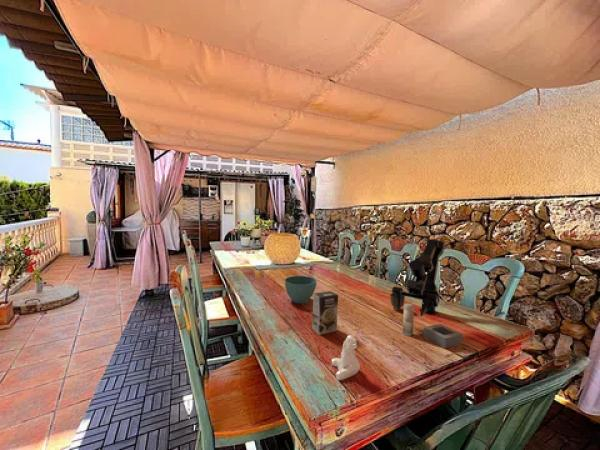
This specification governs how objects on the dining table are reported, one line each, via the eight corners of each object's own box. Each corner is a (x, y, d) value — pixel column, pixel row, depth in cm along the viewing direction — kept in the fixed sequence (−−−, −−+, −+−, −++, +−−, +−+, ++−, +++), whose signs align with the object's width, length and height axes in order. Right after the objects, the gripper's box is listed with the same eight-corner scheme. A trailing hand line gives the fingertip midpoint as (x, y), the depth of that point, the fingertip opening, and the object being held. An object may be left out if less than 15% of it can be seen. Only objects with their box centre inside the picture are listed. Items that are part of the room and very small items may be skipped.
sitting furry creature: (330, 363, 88) (331, 328, 88) (354, 362, 89) (356, 328, 89) (336, 381, 79) (338, 343, 78) (364, 380, 80) (365, 342, 79)
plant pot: (321, 299, 151) (322, 279, 150) (305, 309, 136) (306, 286, 135) (295, 293, 161) (296, 274, 160) (277, 302, 145) (278, 280, 145)
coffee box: (319, 335, 108) (320, 297, 107) (311, 329, 113) (312, 292, 112) (337, 331, 112) (338, 294, 111) (329, 325, 118) (330, 290, 117)
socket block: (440, 332, 113) (440, 323, 112) (462, 343, 104) (462, 334, 103) (423, 336, 109) (423, 327, 109) (444, 348, 100) (445, 338, 99)
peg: (407, 331, 114) (409, 303, 113) (414, 335, 110) (416, 306, 109) (400, 332, 112) (401, 304, 112) (407, 336, 109) (409, 307, 108)
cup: (403, 308, 141) (404, 293, 140) (404, 313, 134) (405, 297, 133) (389, 306, 143) (390, 292, 143) (389, 311, 136) (390, 296, 136)
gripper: (394, 269, 121) (383, 298, 113) (438, 276, 109) (430, 309, 101) (399, 282, 127) (389, 310, 119) (441, 290, 115) (434, 322, 107)
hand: (409, 313), depth 111 cm, fingers open, 9 cm apart
